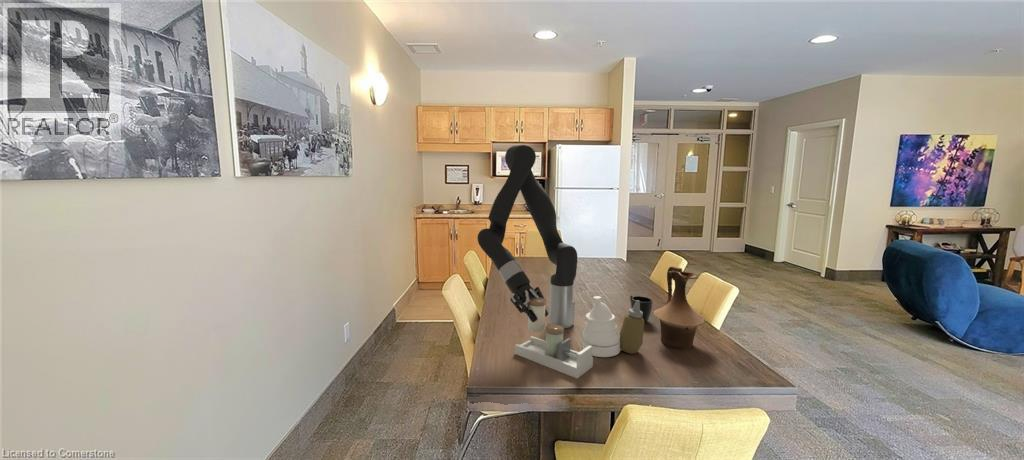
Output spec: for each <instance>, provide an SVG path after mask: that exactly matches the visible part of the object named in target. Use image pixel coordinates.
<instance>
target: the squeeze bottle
mask: <svg viewBox="0 0 1024 460" xmlns="http://www.w3.org/2000/svg"><path fill="white" fill-rule="evenodd" d="M642 315H643V312H642V311H640V301H639V300H636V302H635V304H634V306H633V309H631V308H629V309H628V313H627V314H626V315H624V318H623V321H622V324H621V327H620V330H619V333H620V351H623V352H625V353H628V354H632V355H633V354H637V353H638V352H639V350H640V349H641V347H642V345H643V341H644V328H645V323H644V319H643V318H642Z"/></svg>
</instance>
